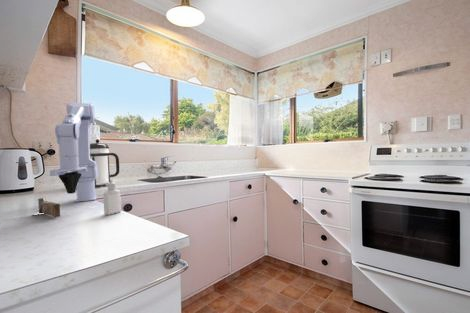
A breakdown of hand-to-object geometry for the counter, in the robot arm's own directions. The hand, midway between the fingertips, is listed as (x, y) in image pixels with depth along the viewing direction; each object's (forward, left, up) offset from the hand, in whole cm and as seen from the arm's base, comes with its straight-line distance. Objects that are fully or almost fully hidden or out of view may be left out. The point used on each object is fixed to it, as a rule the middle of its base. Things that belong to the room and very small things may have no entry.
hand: (71, 193), depth 89 cm
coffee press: (-71, +5, -7) cm, 72 cm away
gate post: (-3, -10, -7) cm, 12 cm away
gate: (+3, -6, -6) cm, 9 cm away
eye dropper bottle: (+11, +14, -7) cm, 19 cm away
